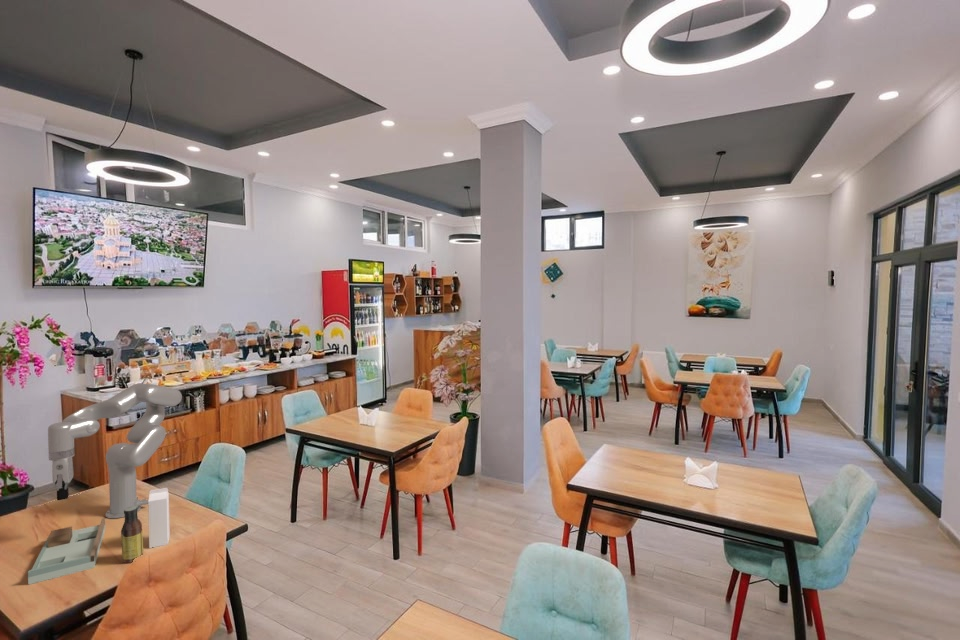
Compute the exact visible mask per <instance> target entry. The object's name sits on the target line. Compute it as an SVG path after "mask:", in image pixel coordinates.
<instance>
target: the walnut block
mask: <svg viewBox="0 0 960 640" xmlns="http://www.w3.org/2000/svg"><path fill="white" fill-rule="evenodd" d="M72 531H73V526H67V527H64V528H63V527H62V528H58V529H53V530H50V532H49V535H48V536H47V538H48V548H50V547H55V546H59V545H64V544H68V543H70V541H71V538H72Z"/></svg>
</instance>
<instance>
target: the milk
mask: <svg viewBox="0 0 960 640" xmlns="http://www.w3.org/2000/svg"><path fill="white" fill-rule="evenodd" d="M148 494H149V495H148V499H147V500H148V504H147V505H148V548H149V549H153V548H152V547H154V548H158V547H162V546H167V545H169V541H170V535H171V534H170V501H169V500H170V497H169V496H170V494H169V490H168V487H163V488H158V489H151V490H149V493H148Z"/></svg>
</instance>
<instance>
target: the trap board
mask: <svg viewBox="0 0 960 640" xmlns="http://www.w3.org/2000/svg"><path fill="white" fill-rule="evenodd" d="M105 531H106V517H103V518H101V520H100V523H99V524H98V525H93V526H87V527H84V528H80V529H74V530H72V538H71V541H70V543H68V544H64V545H59V546H55V547H50V548H48V537H47V539H46V541H45V542H44V544H43V546H42V547H41V550H40V552H39V554H38V556H37V558H36V560H35V562H34V564H33V566H32V568H31V569H29V570H28V571H27V581H28V586H29V585H32V584H38V583H40V582H45V581H47V580H48V581H49V580H51V579H52V580H53V579H56V578H61V577H64V576H68V575H72V574H75V573H76V574H77V573H80V572H83V571H88V570H91V569H95V568H96V565H97V564H96V563H97V559H98V557H99V553H100V549H101V546H102V542H103V539H104V536H105V533H106V532H105Z"/></svg>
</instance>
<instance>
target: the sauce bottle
mask: <svg viewBox="0 0 960 640" xmlns="http://www.w3.org/2000/svg"><path fill="white" fill-rule="evenodd" d="M137 511H138V507H137V506H130V507H127V508H125V509H124V514H125V517H124V522H123V525H122V527H121V531H120V538H121V541H120V542H121V556H122V558H121V559H122V561H123V563H125V564H128V563H129V564H130V563H133V562H132V561H133V560H134V559H135V558H137V557H139V556H141V555H143V556H144V535H143V524H142V521H141V520H140V519H139V518H138V517H139V516H138V512H139V511H138V512H137Z"/></svg>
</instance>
